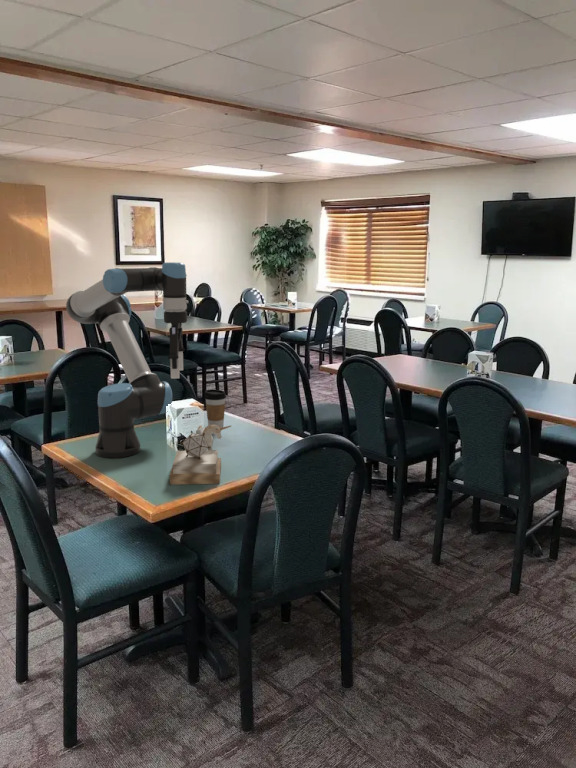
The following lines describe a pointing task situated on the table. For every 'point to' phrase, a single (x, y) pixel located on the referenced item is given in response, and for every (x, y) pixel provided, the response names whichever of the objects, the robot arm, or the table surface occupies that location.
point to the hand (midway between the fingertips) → (177, 374)
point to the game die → (195, 445)
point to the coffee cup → (215, 407)
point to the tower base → (196, 477)
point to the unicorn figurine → (210, 433)
